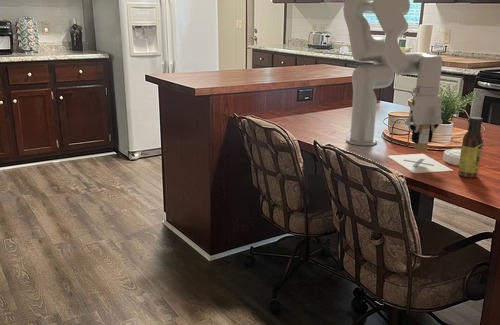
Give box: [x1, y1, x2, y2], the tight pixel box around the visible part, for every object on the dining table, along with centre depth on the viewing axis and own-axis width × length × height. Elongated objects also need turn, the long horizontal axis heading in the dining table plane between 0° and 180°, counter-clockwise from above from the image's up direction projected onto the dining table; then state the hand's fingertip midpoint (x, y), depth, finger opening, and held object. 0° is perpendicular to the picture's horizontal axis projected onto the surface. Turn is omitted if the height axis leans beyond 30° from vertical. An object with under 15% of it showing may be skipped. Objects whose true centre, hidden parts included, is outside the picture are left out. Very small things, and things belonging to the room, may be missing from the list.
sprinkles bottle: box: [413, 124, 430, 153], centre depth 173 cm, size 5×5×13 cm
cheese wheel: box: [442, 148, 461, 166], centre depth 179 cm, size 12×12×4 cm
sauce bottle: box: [458, 116, 484, 179], centre depth 162 cm, size 6×6×20 cm
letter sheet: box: [387, 153, 454, 174], centre depth 177 cm, size 20×15×1 cm
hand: (421, 141), depth 175 cm, fingers closed on sprinkles bottle, 4 cm apart
